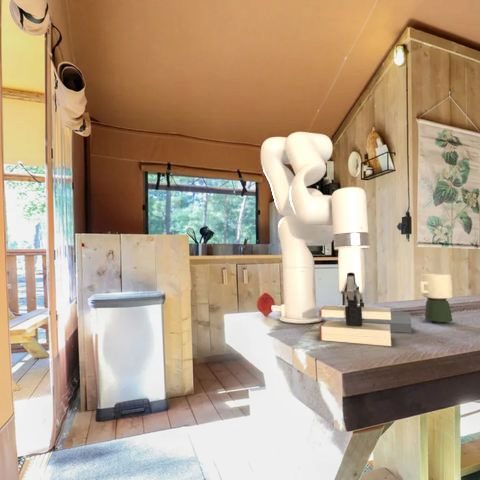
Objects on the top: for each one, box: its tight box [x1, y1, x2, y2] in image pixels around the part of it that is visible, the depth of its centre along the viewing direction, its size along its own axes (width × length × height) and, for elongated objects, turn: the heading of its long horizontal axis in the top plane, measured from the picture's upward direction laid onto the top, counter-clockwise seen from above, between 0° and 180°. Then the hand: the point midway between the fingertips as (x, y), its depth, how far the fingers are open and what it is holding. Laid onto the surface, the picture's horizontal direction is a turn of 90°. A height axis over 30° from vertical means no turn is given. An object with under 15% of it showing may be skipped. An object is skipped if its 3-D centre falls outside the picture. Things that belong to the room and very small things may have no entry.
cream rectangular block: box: [318, 320, 392, 347], centre depth 68 cm, size 14×7×3 cm, turn 65°
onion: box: [256, 290, 276, 317], centre depth 99 cm, size 6×6×8 cm
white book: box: [318, 305, 391, 320], centre depth 68 cm, size 14×7×2 cm, turn 65°
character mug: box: [419, 273, 453, 324], centre depth 83 cm, size 11×7×13 cm, turn 107°
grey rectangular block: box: [362, 310, 413, 334], centre depth 77 cm, size 13×6×4 cm, turn 65°
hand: (355, 322), depth 67 cm, fingers closed on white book, 7 cm apart
